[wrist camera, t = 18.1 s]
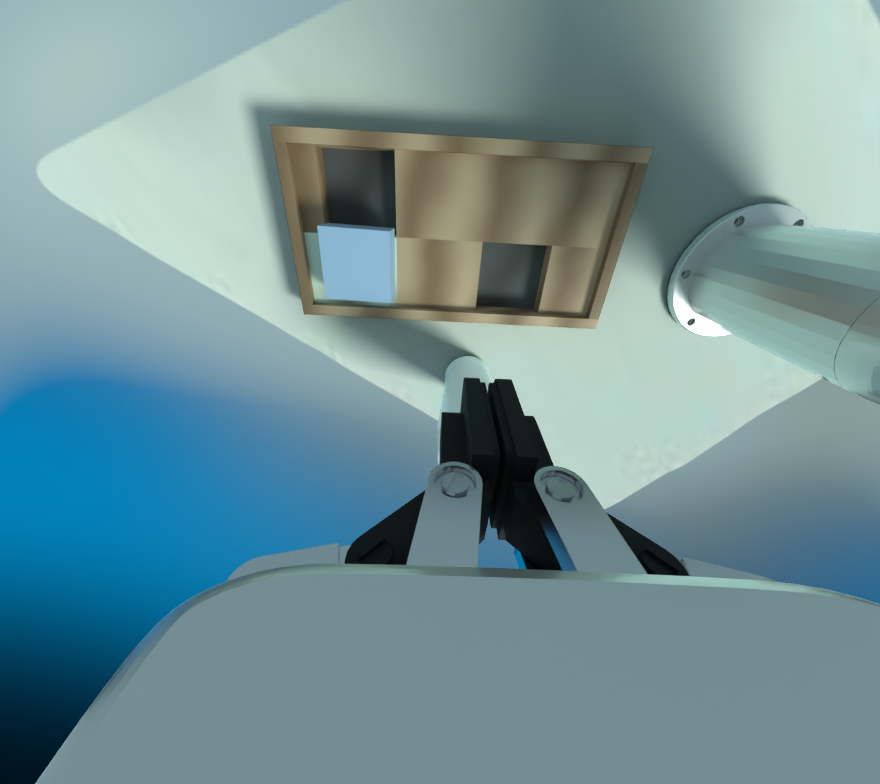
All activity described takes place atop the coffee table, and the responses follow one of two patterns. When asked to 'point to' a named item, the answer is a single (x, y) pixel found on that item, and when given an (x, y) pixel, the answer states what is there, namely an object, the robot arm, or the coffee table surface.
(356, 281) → the block
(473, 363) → the drinking glass
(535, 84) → the coffee table surface
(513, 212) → the box
